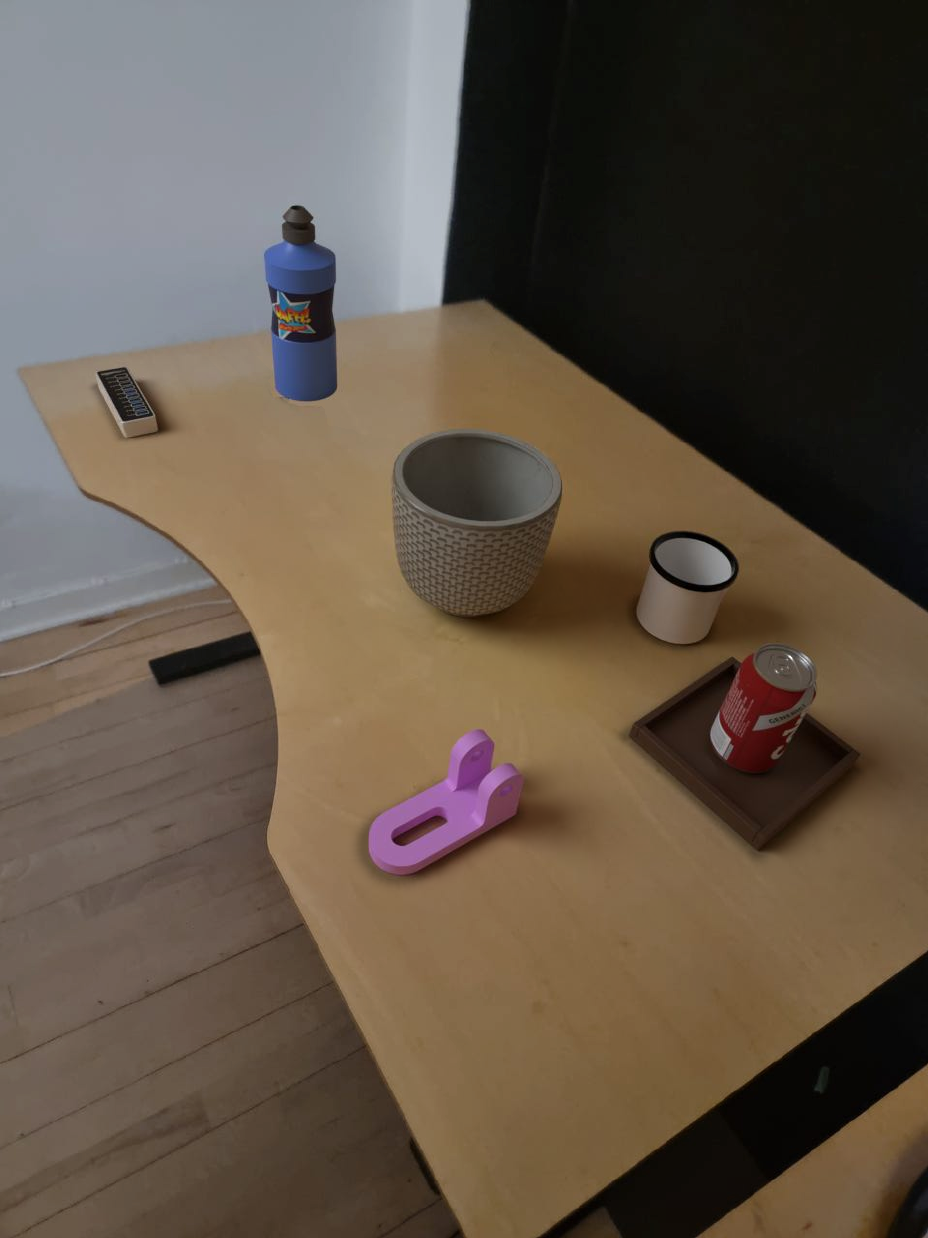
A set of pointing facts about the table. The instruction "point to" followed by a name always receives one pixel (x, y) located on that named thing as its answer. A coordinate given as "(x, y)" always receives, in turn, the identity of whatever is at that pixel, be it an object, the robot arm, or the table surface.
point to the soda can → (764, 707)
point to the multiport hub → (126, 402)
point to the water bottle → (302, 310)
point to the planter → (472, 518)
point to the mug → (685, 585)
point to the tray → (730, 793)
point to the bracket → (449, 808)
